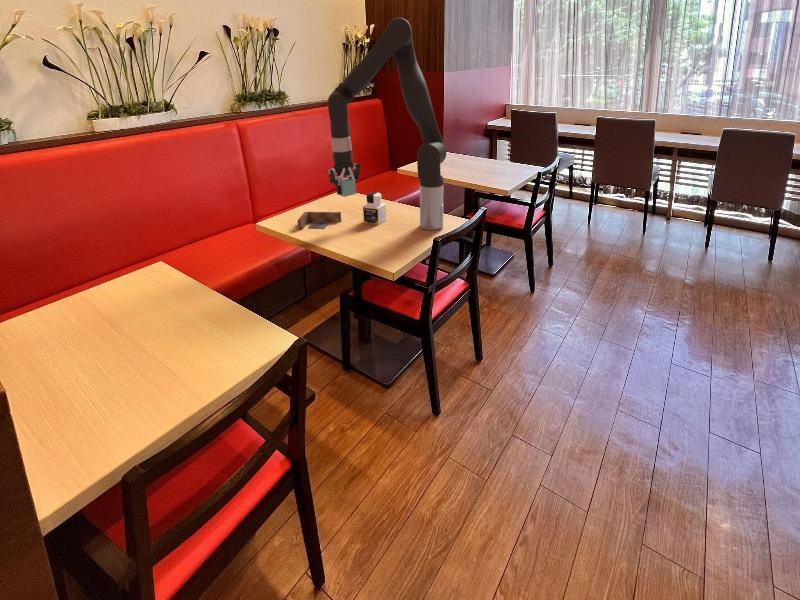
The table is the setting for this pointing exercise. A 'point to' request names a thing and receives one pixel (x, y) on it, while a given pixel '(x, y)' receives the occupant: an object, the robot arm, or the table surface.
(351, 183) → the block
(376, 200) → the medicine bottle
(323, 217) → the arena
